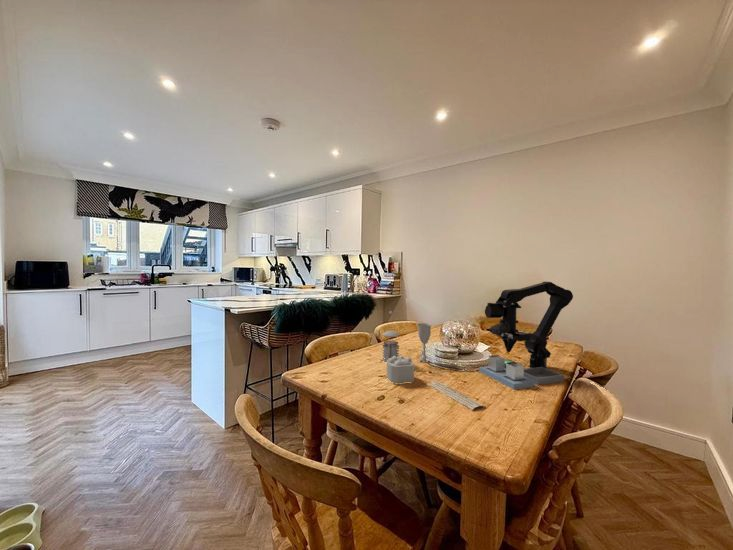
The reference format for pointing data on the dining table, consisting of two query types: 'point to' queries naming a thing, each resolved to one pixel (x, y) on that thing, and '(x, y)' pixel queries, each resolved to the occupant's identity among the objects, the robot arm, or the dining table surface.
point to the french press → (390, 345)
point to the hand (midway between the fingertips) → (508, 352)
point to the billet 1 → (496, 363)
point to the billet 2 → (514, 371)
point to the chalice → (424, 336)
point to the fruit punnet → (400, 369)
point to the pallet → (502, 379)
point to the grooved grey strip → (455, 395)
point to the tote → (543, 375)
